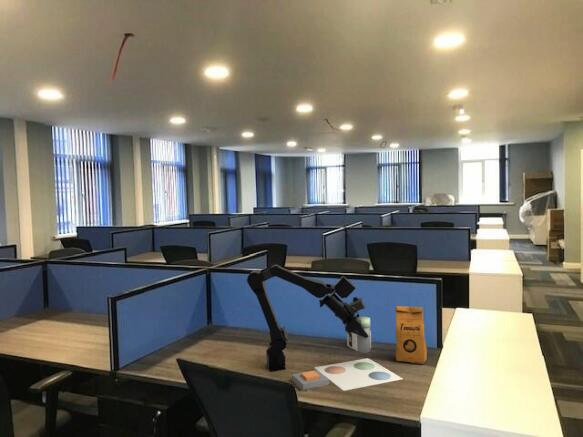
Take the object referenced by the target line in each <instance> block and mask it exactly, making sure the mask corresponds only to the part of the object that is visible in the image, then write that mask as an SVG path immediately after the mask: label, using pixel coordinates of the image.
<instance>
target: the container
mask: <svg viewBox="0 0 583 437" xmlns="http://www.w3.org/2000/svg"><path fill="white" fill-rule="evenodd" d="M346 335H347V336H346V339H347V340H346V342H347V343H346V344H347V347H349V348H350V349H353V350H354V351H357V334H354V333H350V334H348V333H347V332H346ZM371 348H372V331H371V330H370V349H371ZM357 352H358V351H357Z"/></svg>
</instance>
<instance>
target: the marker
mask: <svg viewBox="0 0 583 437" xmlns="http://www.w3.org/2000/svg"><path fill="white" fill-rule="evenodd" d="M358 318H359V320H361V326H362V327H363V329H364V330H365V332H366V333H367V334H368V338H365V337H362V336H360V335H357V352H358V353H362V354H366V353H370V352H371V348H370V331H371V317H368V316H359V317H358Z"/></svg>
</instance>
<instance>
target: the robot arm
mask: <svg viewBox="0 0 583 437" xmlns="http://www.w3.org/2000/svg"><path fill="white" fill-rule="evenodd" d="M274 277H276V278H279V279H281V280H283V281H286V282H288V283H290V284H293V285H295V286H298V287H300V288H303V289H304V290H305V291H306V292H308V293H309V294H311V295H312V296H314V297H315V298H317V299H318V300H319V301H318V302H319V308H322V307H323V306H326V307H327V308H328V309H329V310H330V311H331V312H332V313H333V314H334V316H335V317H336V318H338V319H339V320H340V321H341V323H342V324H343V325H344V330H345V332H346V334H347V333H348V334H350V333H354V334H357V335H360V336H362V337H365V338H368V334H367V333H366V332H365V330H364V329H363V327H362V326H361V320H359V318H358V317H360V314H359V311H361V310H364V309H366V305H365V302H364V301H363V299H362V298H361V297H358V296H354V297H352V301H351V302H350V303H348V302H346V301H343V300H342V299H347V298H348V297H349V296H350V295H351V294H352V293H353V292H354V291H355V290H356V289H357V287H356V286H355V285H354V283H353V282H352V281H351V280H349V279H348V278H347V277H345V276H344V275H342V276H341V277H340V278H339V280H338V281H337V282H336V283H335V284H330V283H326V282H325V281H323V280H320V279H317V278H309V277H306V276H303V275H300V274H298V273H296V272H294V271H292V270H289V269H286V268H284V267H282V266H280V265H279V264H273V265H272V266H269V267H266V268H263V269H260V270H259V269H255V270H252V271H251V272H250V273H249V274H248V276H247V277H246V278H247V279H246V282H247V284H248V286H249V287H250V290H251V291H252V292H253V293H254V295H255V296H256V298H257V300H258V303H259V306H260V309H261V311H262V313H263V314H262V315H263V316H264V319H265V321H266V324H267V327H268V330H269V336H270V337H269V338H270V342H269V343H268V345H267V347H266V364H265V366H264V367H265V368H266V369H267V370H268V371H269V372H276V371H282V370H286V369H287V367H286V355H285V352H284V350H285V349H286V348H287V346H288V340H289V336H290V335H289V334H288V332H287V329H286V326H285V325H284V326H283V327H282V326H281V325H280V323H279V321H278V318H277V316H276V313H275V310H274V307H273V305H272V303H271V300H270V298H269V294H268V293H267V289H266V281H267V280H270V279H272V278H274Z"/></svg>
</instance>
